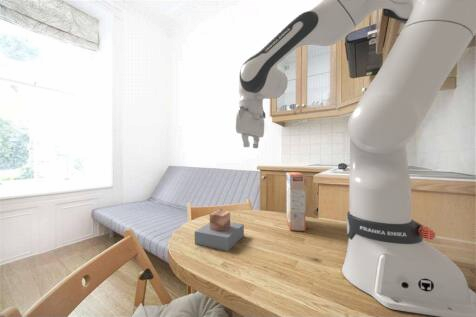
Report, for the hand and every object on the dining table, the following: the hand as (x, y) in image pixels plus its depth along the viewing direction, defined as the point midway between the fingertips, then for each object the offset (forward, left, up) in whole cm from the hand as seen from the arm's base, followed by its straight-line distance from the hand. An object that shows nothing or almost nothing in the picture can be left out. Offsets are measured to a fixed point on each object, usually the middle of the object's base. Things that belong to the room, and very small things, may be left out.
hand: (251, 147), depth 72 cm
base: (+7, +12, -31) cm, 34 cm away
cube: (+7, +12, -27) cm, 30 cm away
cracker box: (-14, -12, -31) cm, 36 cm away
